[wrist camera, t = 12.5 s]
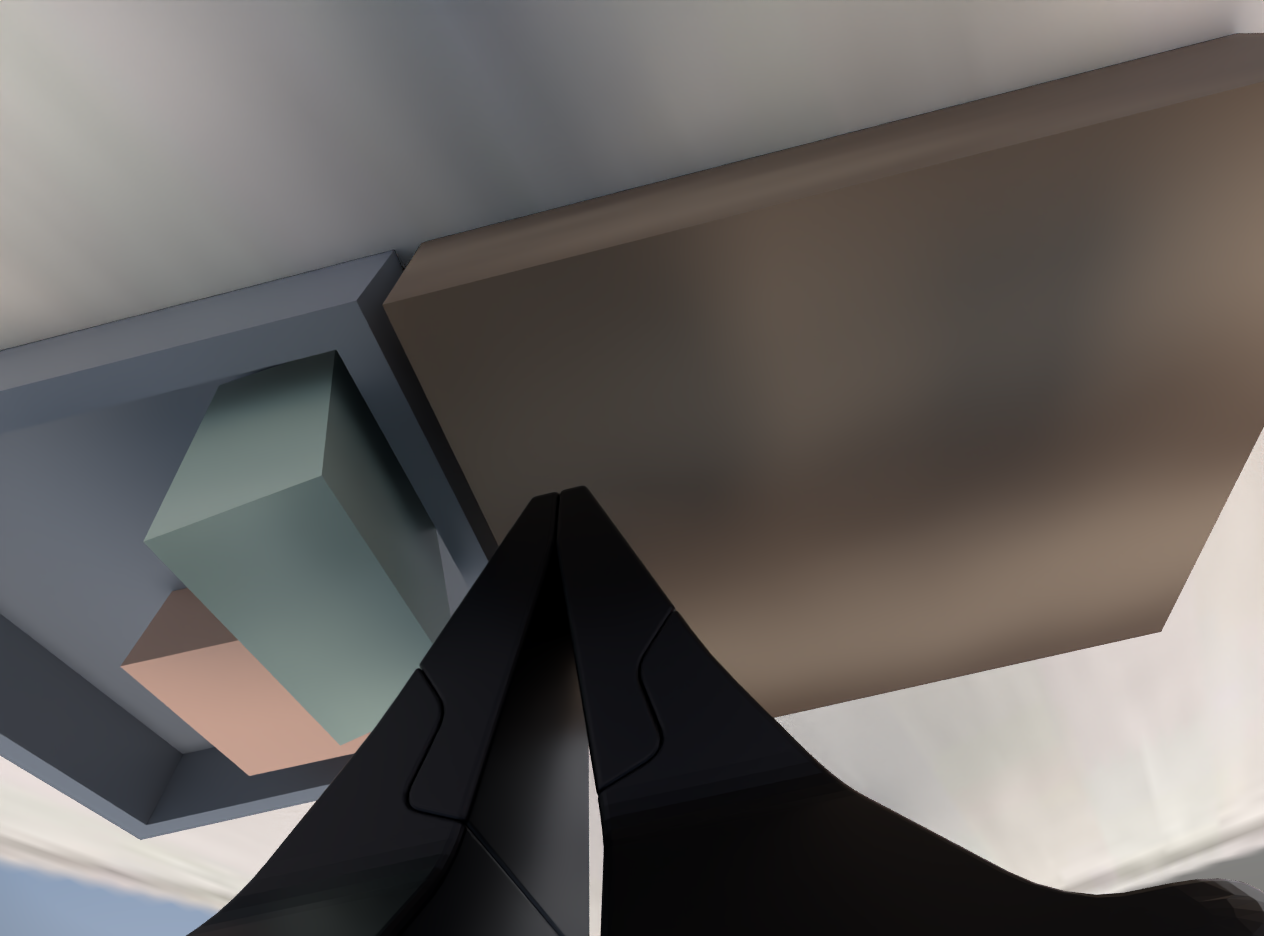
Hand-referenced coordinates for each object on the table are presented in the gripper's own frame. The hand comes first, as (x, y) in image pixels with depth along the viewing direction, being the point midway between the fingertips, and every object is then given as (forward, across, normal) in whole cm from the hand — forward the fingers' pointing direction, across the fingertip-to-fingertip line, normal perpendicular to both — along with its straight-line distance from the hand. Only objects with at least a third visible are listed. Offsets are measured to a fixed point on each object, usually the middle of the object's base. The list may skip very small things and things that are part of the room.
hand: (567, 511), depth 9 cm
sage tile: (+1, +3, 0) cm, 3 cm away
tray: (+4, +8, +3) cm, 9 cm away
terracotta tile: (+1, +8, +4) cm, 9 cm away
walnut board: (+4, -6, +2) cm, 7 cm away
